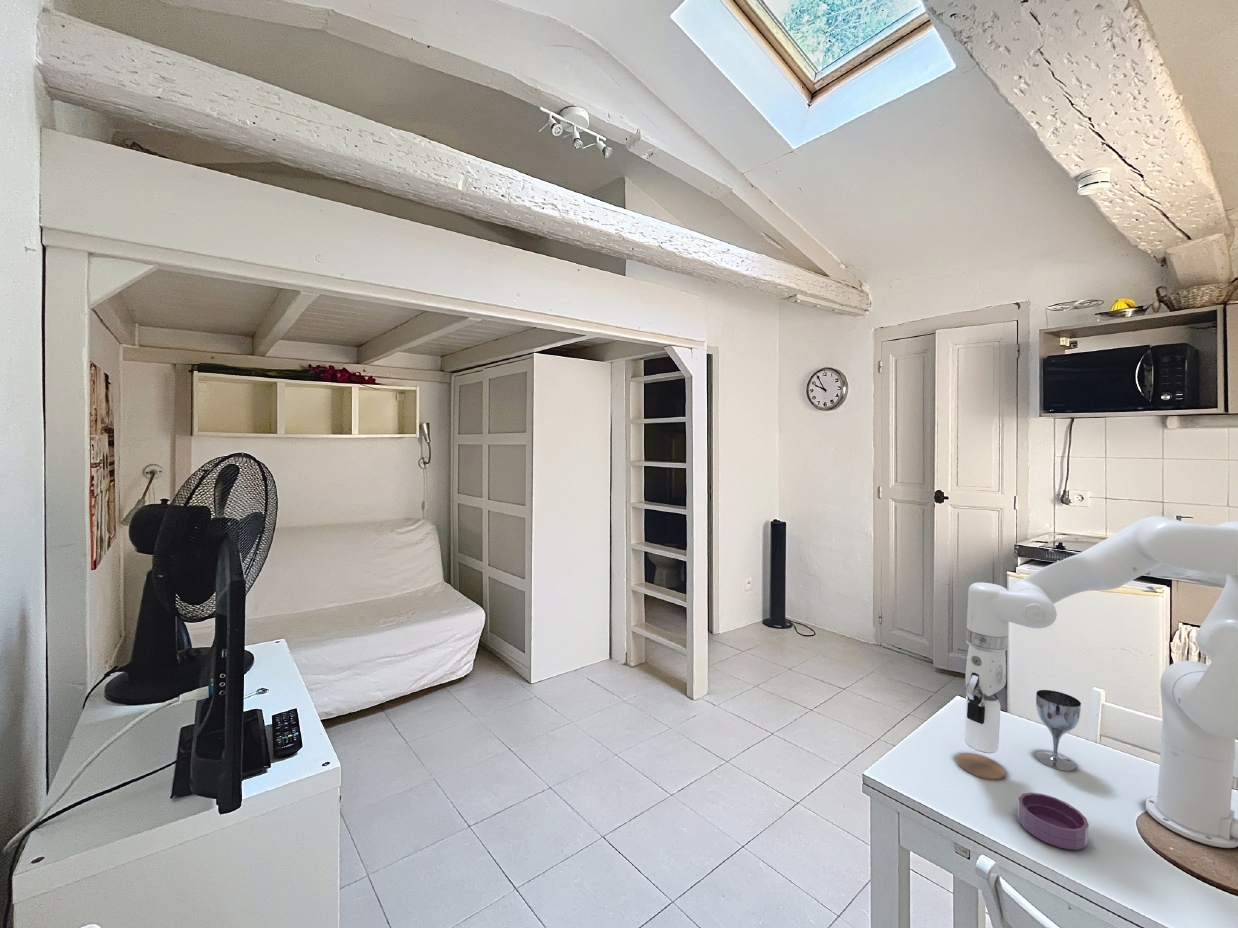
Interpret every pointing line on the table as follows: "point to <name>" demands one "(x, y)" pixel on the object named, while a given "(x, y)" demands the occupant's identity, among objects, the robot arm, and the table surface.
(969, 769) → the coaster
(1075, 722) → the wine glass
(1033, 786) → the table surface
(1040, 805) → the dish
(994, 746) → the can
